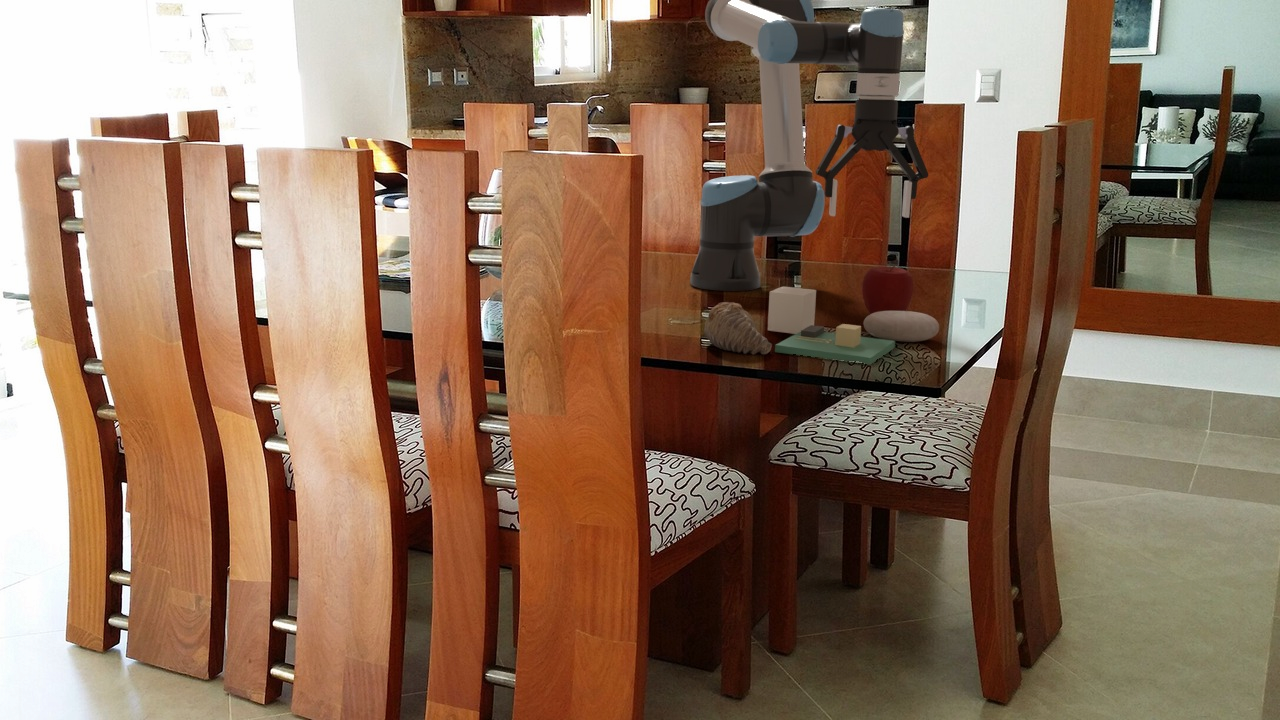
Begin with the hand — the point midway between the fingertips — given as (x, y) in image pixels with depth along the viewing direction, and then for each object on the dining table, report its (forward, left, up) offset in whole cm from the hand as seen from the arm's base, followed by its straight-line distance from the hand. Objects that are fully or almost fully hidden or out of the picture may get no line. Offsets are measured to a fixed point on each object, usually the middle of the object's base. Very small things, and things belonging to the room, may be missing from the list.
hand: (868, 216), depth 205 cm
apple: (+4, +3, -20) cm, 20 cm away
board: (+4, -28, -19) cm, 34 cm away
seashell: (-11, -34, -20) cm, 41 cm away
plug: (-8, -17, -19) cm, 27 cm away
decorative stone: (+11, -14, -20) cm, 27 cm away
